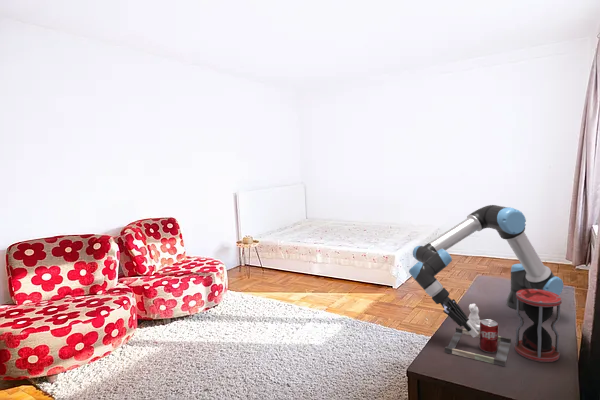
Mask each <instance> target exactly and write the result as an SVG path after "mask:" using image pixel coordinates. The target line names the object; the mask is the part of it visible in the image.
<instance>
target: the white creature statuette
mask: <svg viewBox="0 0 600 400" xmlns="http://www.w3.org/2000/svg"><path fill="white" fill-rule="evenodd" d="M468 309H469V311H470V313H469V315H468V318H469V320H468V322H469V323H470V324H471V325H472V326H473V327H474V328H475V330H476V331H477V332H479V331H480V321H481V320H482V319H480V318H481V317H480V316H479V312H480V310H479V307H478V306H477V304H476V303H470V304H469V305H468Z"/></svg>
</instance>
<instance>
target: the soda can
mask: <svg viewBox="0 0 600 400" xmlns="http://www.w3.org/2000/svg"><path fill="white" fill-rule="evenodd" d="M480 320H481V321H480V331H478V332H479V337H478V347H479V349H480V350H481V351H482V352H485V353H488V354H489V353H490V354H492V353H497V351H498V348H499V341H498V336H499V331H500V330H499V323H498V322H497V321H495V320H493V319H486V318H485V319H484V318H483V319H480Z"/></svg>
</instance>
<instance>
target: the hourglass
mask: <svg viewBox="0 0 600 400" xmlns="http://www.w3.org/2000/svg"><path fill="white" fill-rule="evenodd" d="M516 297H517V310H516V316H517V317H518V318H519V320H520V321H519V322H520V323H519V326H517V327H516V330H515V343H514V350H515V352H516V353H518V354H519V356H522V357H524V358H526V359H528V360H531V361H535V362H541V363H552V362H556V361H558V360H560V351H559V349H560V348H559V346H560V343H559V342H560V334H559V332H558V330H557V329H556V324H557V322H559V320H560V318H561V304H562V302H563V301H562V299H563V298H562V297H561V296H560V295H557V294H555V293H552V292H549V291H545V290H539V289H522V290H519V291H517V292H516ZM520 301H522V302H523V309H524V311H523V312H524V313H525V315H526V316H527V318H528V319H529V320H530V321H531V322H532V323H533V324H531V325H530V326H529V327H527V328H526V329H525V330H524V331H523V332H522V337H521V338H522V339H520V330H521V328H522V327H524V324H525V319H524V318H523V317H522V314H521V313H520V312H521V310H520ZM554 307H556V318H555V319H554V320H553V321H552V322H551V324H550V327H551V330H552V332H554V335H555V343H554V345H553V341H552V340H553V338H552V336H551V334H550V333H549V332H548V331H547V329H546V328H545V327H544V326H543V323H545V322H547V321H548V320H549V319H550V318H551V317H552V316H553V315H554Z"/></svg>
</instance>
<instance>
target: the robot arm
mask: <svg viewBox="0 0 600 400" xmlns="http://www.w3.org/2000/svg"><path fill="white" fill-rule="evenodd" d="M526 222H527V218H526V217H525V215H524V213H523V212H522V211H520V210H519V209H517V208H514V207H511V206H510V207H508V206H507V207H506V206H501V205H496V204H490V205H489V204H488V205H485V206H482V207H480V208H478V209H476V210H474V211H473V212H471V213H469V214H467V216H466V218H465V219H464V220H463V221H461V222H459V223H458V224H456V225H454V226H453V227H451V228H450V229H449V230H447V231H445V232H444V233H442V234H440V235H438V237H436V238H434V239H432V240H430V241H429V242H428V243H426V244H424V245H417V246H415V247H414V248H413V249H412V257H413V258H414V259H415V260H417V263H416V264H414V265H413V266H411V268H409V270H408V273H409V275H411V277H412V278H413V280H414V281H416V282H417V284H418V285H419V286H420V287H421V288H422V289H423V290H424V292H425V294H427V295H428V296H429V297H431V299H432V301H433V302H434V303H435V304H436V305H439V304H440V305H441V307H442V308H443V311H442V312H443V313H444V314H446V316H448V317H449V318H451V319H452V320H453V322H455V323H456V324H457V325H458V326H459V328H461V327H463V329H466V330H467V331H468V332H469V333H470V335H469V336H471V337H472V338H476V336H477V335H479V333H478V332H479V331H477V330H475V328H474V327H473V326H472V325H471V324H470V323H469V322H468V320H469V317H468V316H467V315H466V313H465V312H464V311H463V310H462V308H461V307H460V305H459V304H458V303H457V301H456V299H454V298H453V299H452V298H450V293H449V291H448V290H447V289H446V288H445V287H443V286H444V285H443V284H441V282H440V281H439V280H438V279H437V278H436V277H435V276H436V275H438V274H439V273H440V272H441V271H443V270H444V269H445V268H446V267H448V266H449V265H450V264H451V262H453V261H452V260H453V259H452V256H451V255H450V253H449V252H448V251H447V250H449V249H450V248H452V247H453V246H455V245H457V244H458V243H460V242H461V241H464V239H466V238H467V237H469V236H471V235H473V233H476V232H481V231H482V230H484V229H492V230H496V232H497V233H498V235H499V236H500V237H499V238H501V239H503V240H504V241H505V240H506V242H507V243H508V245H509V246H510V248H511V249H512V251H513V253H514V255H515V257H516V258H517V259H518V261H519V263H514V264H512V265H511V268H510V291H509V292H508V293H509V294H508V296H507V299H506V305H507V306H508V307H509V308H511V309H514V310H516V311H517V297H516V292H517V291H519V290H522V289H539V290H545V291H549V292H552V293H555V294H557V295H559V296H560V295H561V294H562V292H563V289H564V282H563V279H561V278H560V277H559V276H556V275H554V273H553V272H552V270H551V268H550V267H549V266H547V265H545V264H544V263H543V261H542V259H541V258H540V256H539V254H538V253H537V252H536V250H535V247H534V246H533V244H532V243H531V241H530V239H529V238H528V236H527V235H526V232H525V230H526V225H527V224H526ZM521 311H522V312H524V309H523V302H522V301H520V312H521Z"/></svg>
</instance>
